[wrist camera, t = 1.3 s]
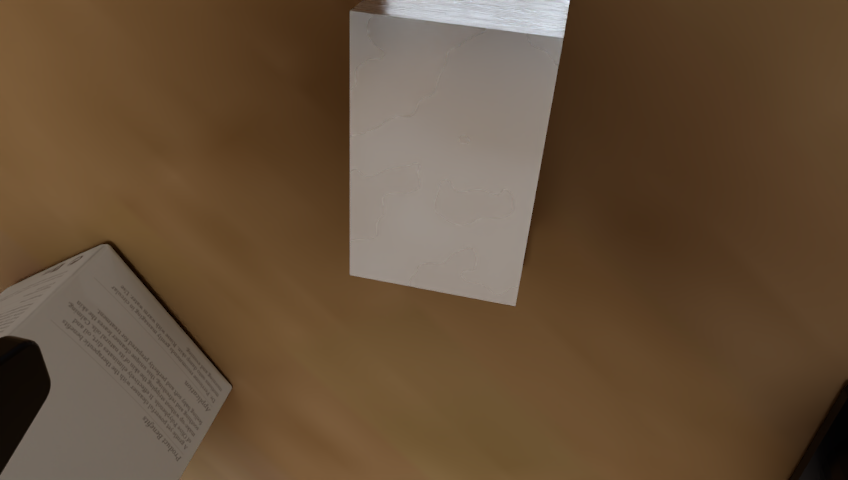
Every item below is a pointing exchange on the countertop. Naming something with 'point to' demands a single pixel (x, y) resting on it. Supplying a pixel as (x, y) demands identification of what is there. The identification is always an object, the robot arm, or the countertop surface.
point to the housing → (449, 139)
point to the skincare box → (108, 376)
